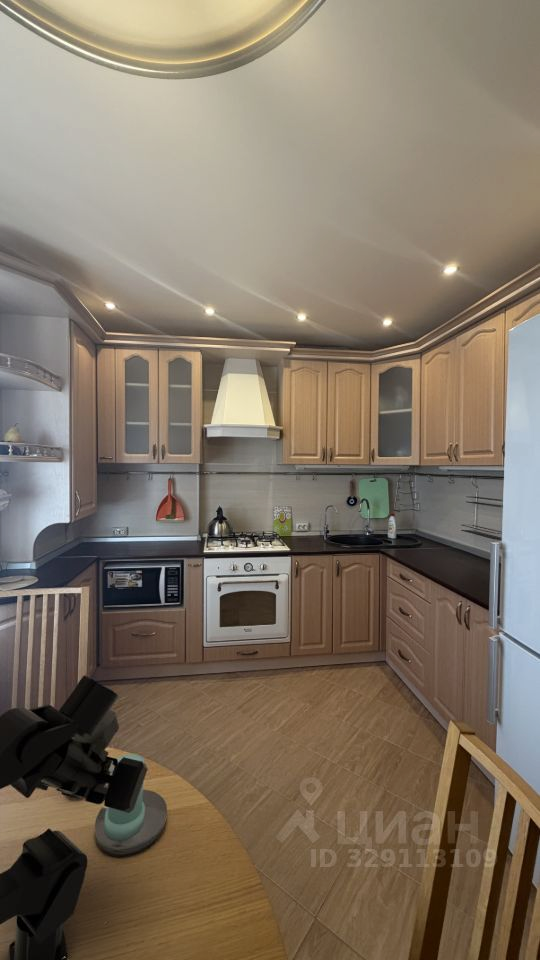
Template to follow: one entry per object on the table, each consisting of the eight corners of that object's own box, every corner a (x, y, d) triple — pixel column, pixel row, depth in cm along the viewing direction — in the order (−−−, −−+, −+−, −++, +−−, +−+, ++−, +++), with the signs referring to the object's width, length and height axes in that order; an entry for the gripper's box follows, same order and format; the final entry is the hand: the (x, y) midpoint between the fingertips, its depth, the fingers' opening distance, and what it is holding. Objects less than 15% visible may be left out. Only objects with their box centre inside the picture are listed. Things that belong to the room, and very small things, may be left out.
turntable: (177, 828, 75) (177, 821, 75) (104, 864, 67) (105, 856, 67) (153, 785, 85) (153, 779, 85) (87, 812, 78) (88, 805, 78)
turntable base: (174, 835, 75) (175, 828, 75) (105, 869, 68) (106, 862, 68) (151, 793, 85) (152, 787, 85) (89, 819, 78) (89, 813, 78)
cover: (149, 829, 73) (152, 767, 74) (109, 847, 69) (113, 782, 69) (137, 804, 79) (140, 747, 79) (100, 820, 75) (103, 759, 75)
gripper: (144, 713, 62) (174, 742, 72) (44, 693, 66) (86, 723, 76) (109, 803, 54) (148, 822, 64) (-2, 773, 58) (52, 795, 69)
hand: (107, 785), depth 68 cm, fingers closed
